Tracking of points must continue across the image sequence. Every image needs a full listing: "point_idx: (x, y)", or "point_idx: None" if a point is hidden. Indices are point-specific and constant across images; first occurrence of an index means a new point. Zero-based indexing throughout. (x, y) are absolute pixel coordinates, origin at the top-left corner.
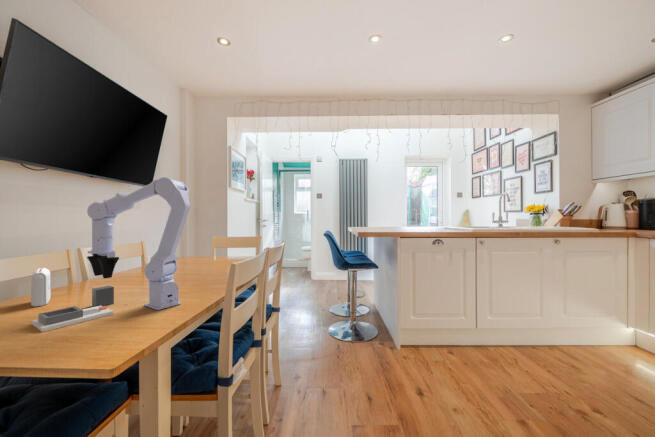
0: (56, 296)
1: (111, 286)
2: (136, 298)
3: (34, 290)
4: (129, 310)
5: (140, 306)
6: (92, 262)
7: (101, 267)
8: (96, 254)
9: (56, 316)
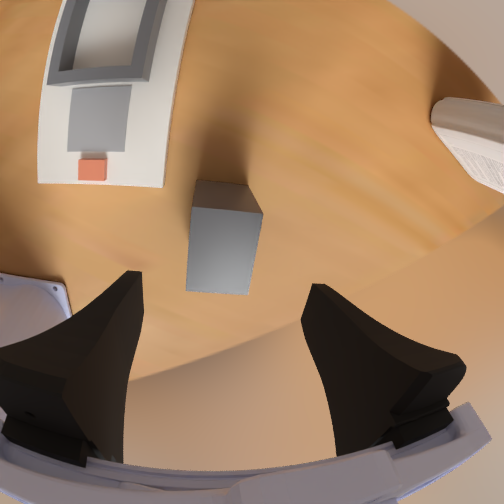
0: (478, 205)
1: (214, 291)
2: (191, 320)
3: (484, 106)
4: (46, 231)
5: (66, 273)
6: (375, 351)
7: (99, 319)
8: (397, 442)
9: (65, 6)
